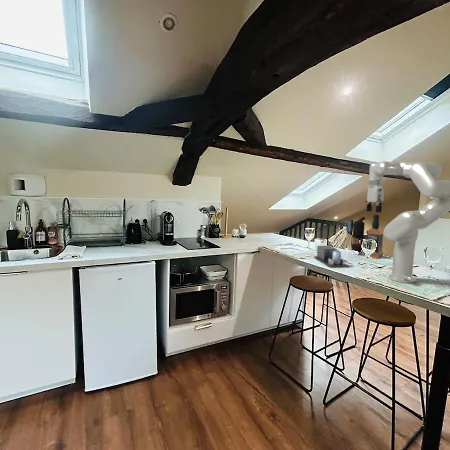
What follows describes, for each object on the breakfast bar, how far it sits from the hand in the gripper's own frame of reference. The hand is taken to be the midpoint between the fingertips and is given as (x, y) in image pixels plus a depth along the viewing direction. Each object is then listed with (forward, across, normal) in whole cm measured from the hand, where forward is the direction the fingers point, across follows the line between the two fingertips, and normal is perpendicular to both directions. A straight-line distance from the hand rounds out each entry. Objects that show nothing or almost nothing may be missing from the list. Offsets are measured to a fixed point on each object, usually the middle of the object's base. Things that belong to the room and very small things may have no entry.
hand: (373, 211), depth 170 cm
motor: (+36, +18, +18) cm, 45 cm away
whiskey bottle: (+36, +33, -23) cm, 54 cm away
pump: (+35, +8, +18) cm, 40 cm away
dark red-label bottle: (+36, +43, -15) cm, 58 cm away
